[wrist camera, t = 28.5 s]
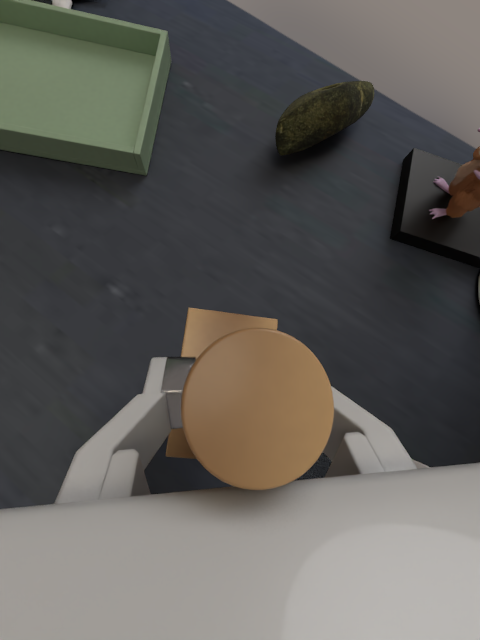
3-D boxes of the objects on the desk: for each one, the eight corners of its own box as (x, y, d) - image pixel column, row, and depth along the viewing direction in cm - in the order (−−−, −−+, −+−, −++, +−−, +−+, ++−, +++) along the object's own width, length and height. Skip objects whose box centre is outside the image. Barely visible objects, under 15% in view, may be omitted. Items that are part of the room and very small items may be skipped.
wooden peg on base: (266, 328, 17) (393, 230, 5) (255, 447, 15) (399, 679, 4) (191, 318, 17) (151, 189, 5) (173, 440, 15) (51, 677, 3)
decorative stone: (300, 87, 29) (318, 31, 24) (361, 116, 30) (391, 65, 25) (264, 163, 27) (277, 118, 22) (332, 193, 27) (359, 155, 22)
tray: (171, 61, 28) (167, 30, 26) (147, 176, 25) (139, 154, 23) (-65, 10, 26) (-94, -29, 24) (-120, 128, 23) (-161, 98, 21)
